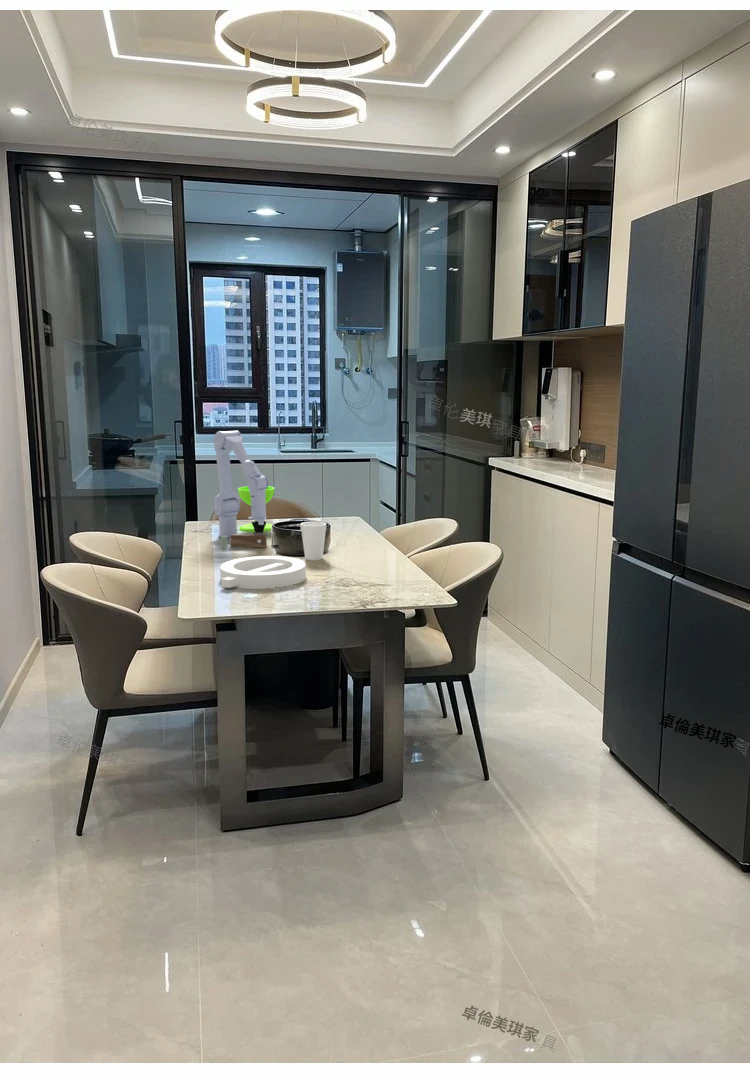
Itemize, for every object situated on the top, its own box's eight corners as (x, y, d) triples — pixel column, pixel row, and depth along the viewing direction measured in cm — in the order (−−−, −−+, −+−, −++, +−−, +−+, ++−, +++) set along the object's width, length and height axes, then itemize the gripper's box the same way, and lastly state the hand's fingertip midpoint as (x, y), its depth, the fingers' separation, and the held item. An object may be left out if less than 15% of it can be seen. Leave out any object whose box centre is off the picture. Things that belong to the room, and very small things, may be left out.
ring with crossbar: (221, 591, 248) (220, 577, 247) (220, 571, 275) (219, 557, 274) (310, 587, 253) (310, 572, 253) (301, 567, 280) (300, 554, 279)
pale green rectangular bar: (221, 547, 312) (220, 536, 311) (278, 545, 317) (277, 533, 316) (221, 548, 311) (220, 536, 310) (278, 545, 315) (278, 534, 314)
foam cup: (296, 557, 294) (295, 523, 291) (317, 554, 299) (317, 520, 297) (310, 562, 287) (309, 527, 284) (331, 559, 292) (331, 524, 289)
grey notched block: (254, 543, 320) (253, 530, 319) (264, 542, 321) (263, 530, 320) (253, 547, 313) (252, 534, 312) (263, 546, 313) (262, 534, 312)
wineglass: (283, 527, 354) (282, 487, 350) (259, 533, 340) (258, 491, 337) (255, 524, 362) (254, 485, 358) (231, 529, 349) (230, 489, 345)
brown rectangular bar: (231, 546, 313) (230, 534, 312) (266, 546, 312) (266, 534, 311) (229, 547, 310) (229, 535, 309) (265, 547, 310) (265, 536, 309)
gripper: (246, 503, 324) (247, 536, 326) (250, 509, 310) (251, 543, 313) (263, 502, 326) (264, 535, 328) (268, 508, 312) (269, 542, 315)
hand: (259, 539), depth 321 cm, fingers closed, pressing on grey notched block
